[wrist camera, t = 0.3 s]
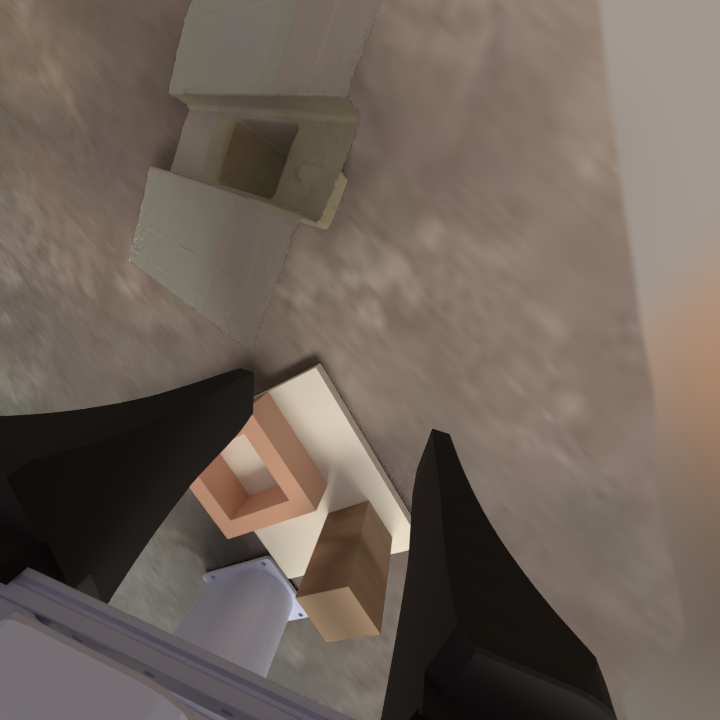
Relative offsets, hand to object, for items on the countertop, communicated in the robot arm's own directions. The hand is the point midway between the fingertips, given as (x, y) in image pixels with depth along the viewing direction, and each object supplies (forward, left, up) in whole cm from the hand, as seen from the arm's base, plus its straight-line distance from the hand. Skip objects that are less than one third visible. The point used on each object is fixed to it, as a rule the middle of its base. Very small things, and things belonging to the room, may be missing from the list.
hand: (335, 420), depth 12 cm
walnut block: (-8, -13, -10) cm, 18 cm away
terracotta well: (-13, -4, -10) cm, 17 cm away
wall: (-1, +13, -11) cm, 17 cm away
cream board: (-11, -8, -11) cm, 17 cm away
